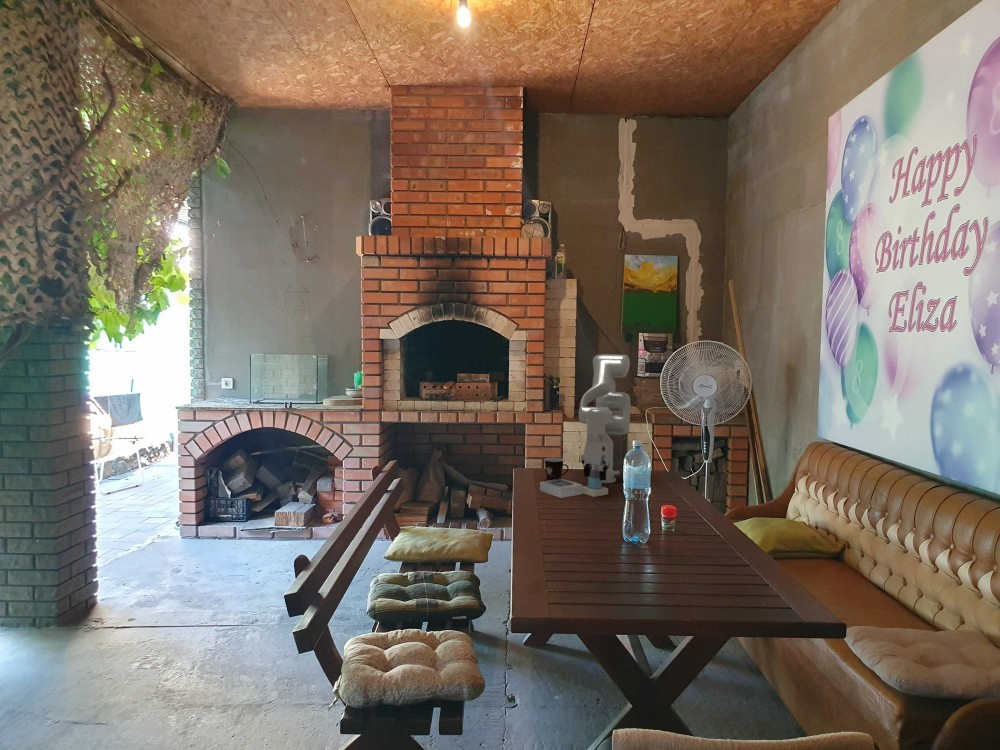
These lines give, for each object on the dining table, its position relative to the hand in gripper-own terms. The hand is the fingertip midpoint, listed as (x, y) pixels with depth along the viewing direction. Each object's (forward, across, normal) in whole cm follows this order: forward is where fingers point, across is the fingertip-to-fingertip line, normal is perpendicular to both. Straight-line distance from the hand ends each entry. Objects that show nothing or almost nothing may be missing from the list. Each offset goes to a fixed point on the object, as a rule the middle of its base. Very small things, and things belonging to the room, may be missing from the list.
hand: (594, 478), depth 271 cm
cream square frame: (+7, +1, -1) cm, 7 cm away
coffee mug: (+6, +27, -1) cm, 27 cm away
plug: (+7, +1, -1) cm, 7 cm away
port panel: (+7, +10, +10) cm, 16 cm away
